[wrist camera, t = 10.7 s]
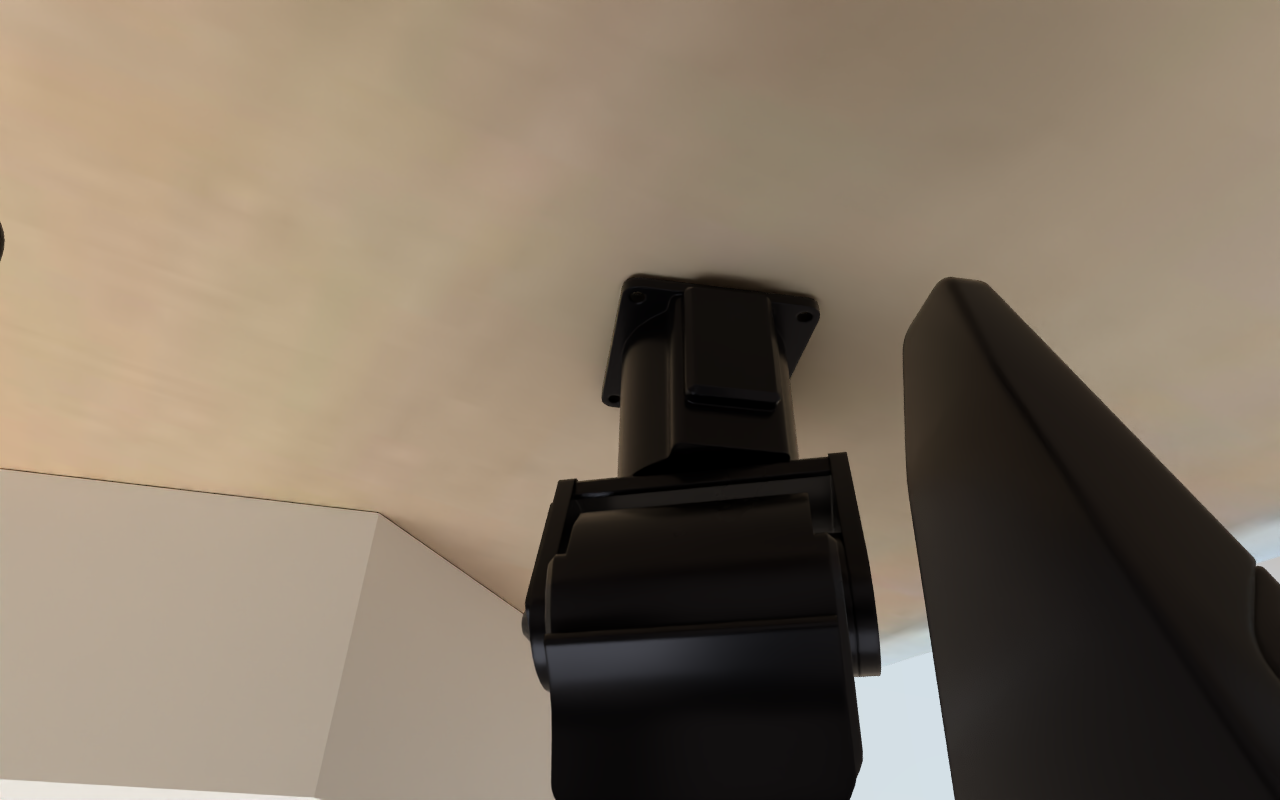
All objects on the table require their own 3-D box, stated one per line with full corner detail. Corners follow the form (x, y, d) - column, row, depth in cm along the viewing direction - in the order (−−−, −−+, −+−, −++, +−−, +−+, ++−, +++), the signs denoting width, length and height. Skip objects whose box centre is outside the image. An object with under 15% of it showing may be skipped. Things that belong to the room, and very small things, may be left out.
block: (500, 680, 59) (477, 879, 52) (-100, 530, 41) (-265, 800, 34) (659, 608, 48) (659, 848, 41) (-65, 361, 30) (-298, 707, 23)
